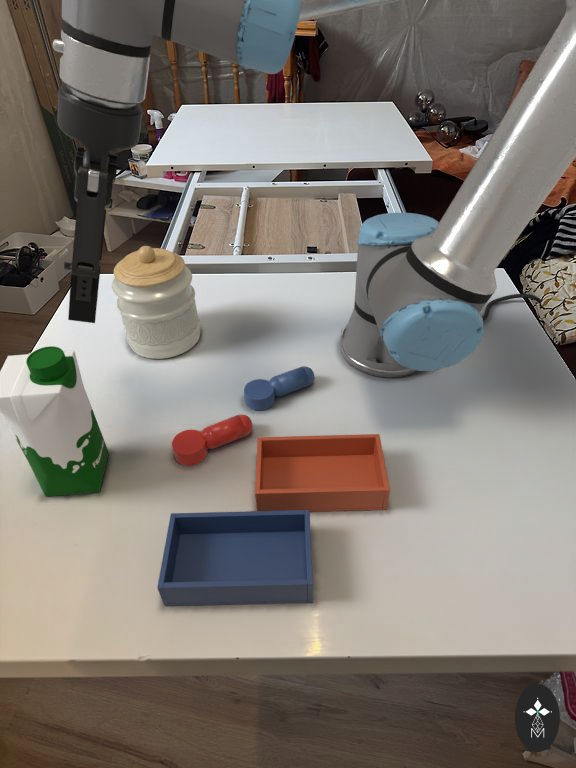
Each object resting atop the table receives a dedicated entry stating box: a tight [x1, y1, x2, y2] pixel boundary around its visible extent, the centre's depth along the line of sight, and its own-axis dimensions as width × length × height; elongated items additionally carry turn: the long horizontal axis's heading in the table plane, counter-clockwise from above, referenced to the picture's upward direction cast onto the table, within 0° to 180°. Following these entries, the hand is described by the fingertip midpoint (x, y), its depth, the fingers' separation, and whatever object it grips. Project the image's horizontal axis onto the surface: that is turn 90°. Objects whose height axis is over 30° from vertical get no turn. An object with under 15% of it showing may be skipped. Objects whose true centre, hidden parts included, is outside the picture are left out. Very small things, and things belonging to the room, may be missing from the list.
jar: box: [111, 245, 202, 360], centre depth 89 cm, size 13×13×18 cm
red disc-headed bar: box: [171, 413, 253, 467], centre depth 74 cm, size 12×5×3 cm, turn 118°
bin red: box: [254, 433, 391, 513], centre depth 68 cm, size 16×9×4 cm, turn 91°
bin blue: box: [156, 510, 314, 607], centre depth 60 cm, size 16×9×4 cm, turn 91°
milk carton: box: [0, 345, 110, 498], centre depth 65 cm, size 9×9×20 cm
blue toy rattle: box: [243, 366, 315, 412], centre depth 82 cm, size 12×5×3 cm, turn 118°
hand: (86, 286), depth 63 cm, fingers open, 13 cm apart
